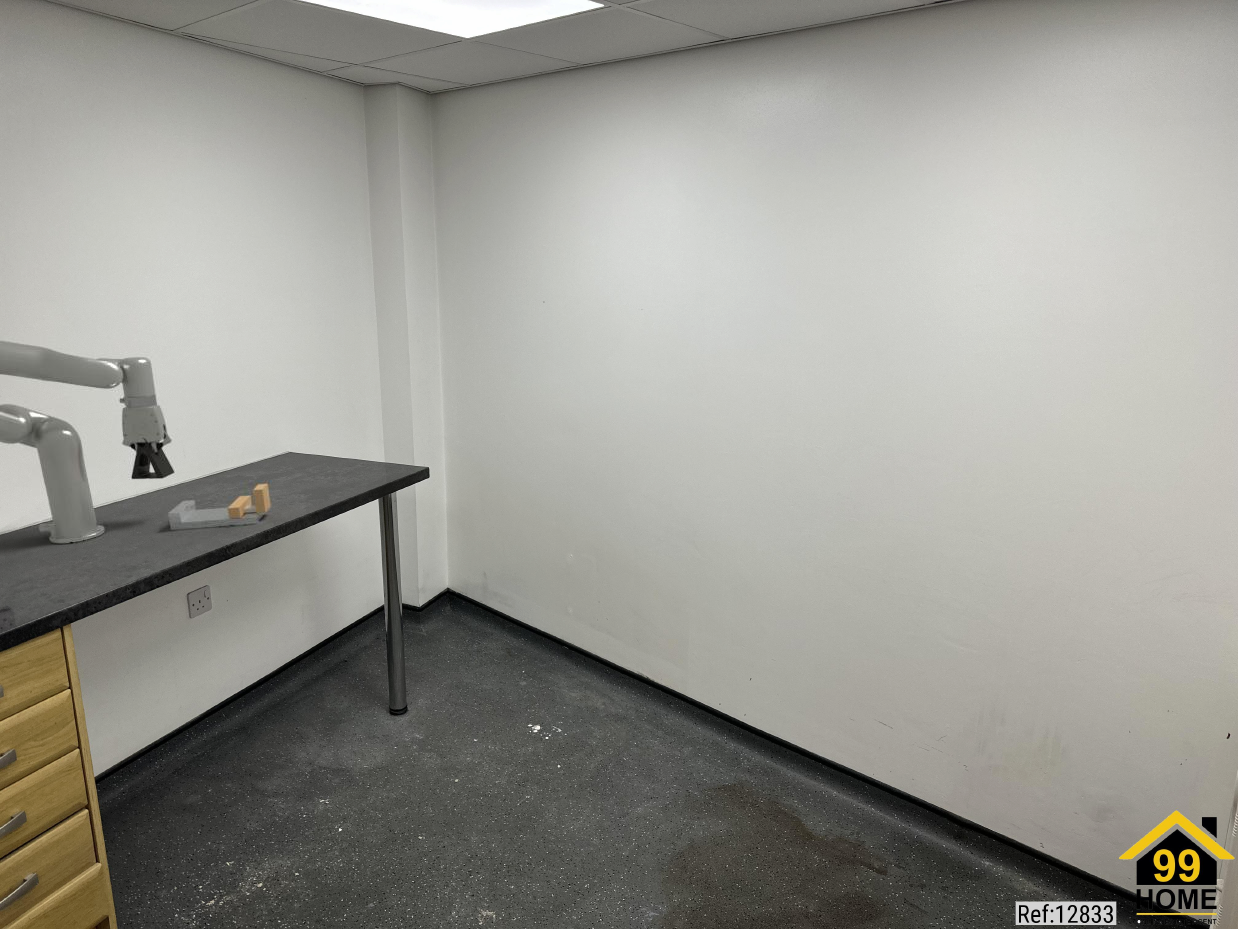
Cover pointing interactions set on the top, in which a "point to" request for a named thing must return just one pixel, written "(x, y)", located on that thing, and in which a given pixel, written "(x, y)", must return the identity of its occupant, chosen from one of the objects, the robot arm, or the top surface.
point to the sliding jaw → (245, 504)
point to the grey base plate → (215, 519)
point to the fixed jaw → (182, 511)
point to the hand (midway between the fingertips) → (150, 465)
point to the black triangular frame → (157, 462)
